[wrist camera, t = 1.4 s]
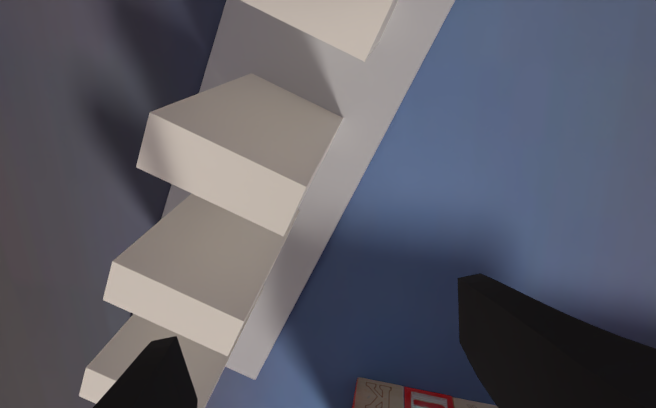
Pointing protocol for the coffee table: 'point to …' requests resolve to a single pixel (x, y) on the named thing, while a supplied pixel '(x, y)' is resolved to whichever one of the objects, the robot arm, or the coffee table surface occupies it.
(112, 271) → the domino
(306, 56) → the felt strip
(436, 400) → the stack of blocks
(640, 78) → the coffee table surface
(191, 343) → the domino
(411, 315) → the coffee table surface
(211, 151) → the domino
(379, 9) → the domino
